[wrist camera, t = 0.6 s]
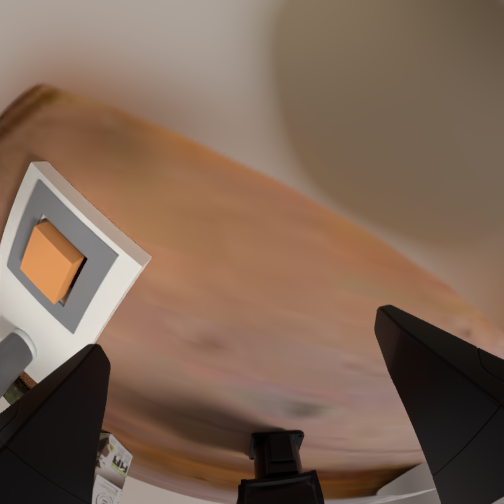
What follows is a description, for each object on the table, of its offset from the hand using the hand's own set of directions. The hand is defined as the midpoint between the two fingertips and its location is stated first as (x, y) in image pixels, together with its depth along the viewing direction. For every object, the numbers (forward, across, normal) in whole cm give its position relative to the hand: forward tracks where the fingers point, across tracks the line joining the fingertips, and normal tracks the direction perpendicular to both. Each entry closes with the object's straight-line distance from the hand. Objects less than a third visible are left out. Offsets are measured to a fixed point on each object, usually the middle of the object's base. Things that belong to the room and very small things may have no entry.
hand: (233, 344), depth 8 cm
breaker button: (+12, +16, +1) cm, 20 cm away
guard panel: (+14, +21, +5) cm, 26 cm away
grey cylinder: (+11, +26, +9) cm, 29 cm away
